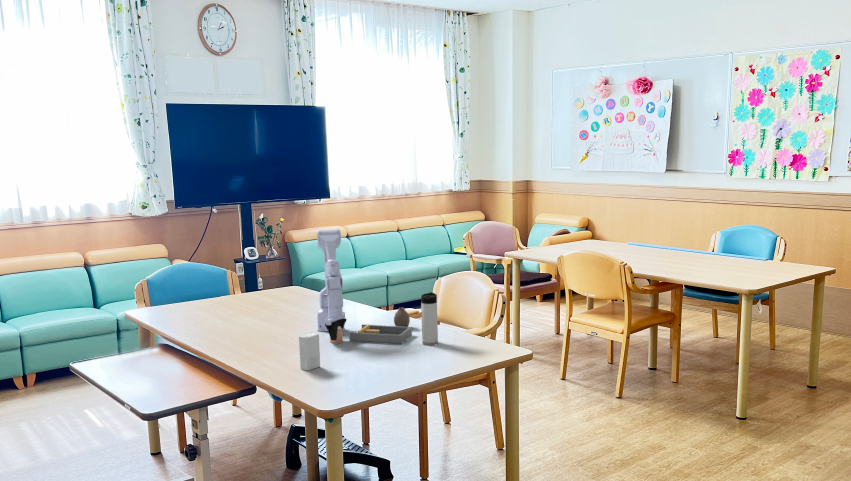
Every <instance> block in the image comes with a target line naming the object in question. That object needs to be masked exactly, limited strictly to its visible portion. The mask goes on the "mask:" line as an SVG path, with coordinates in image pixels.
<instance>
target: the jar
mask: <svg viewBox="0 0 851 481" xmlns="http://www.w3.org/2000/svg"><path fill="white" fill-rule="evenodd" d="M329 338H330V337H329ZM343 338H344V336H343V333H342V328H341V327H340V326H338V330H337V339H336V340H331V338H330V343H331V344H341V343H343Z"/></svg>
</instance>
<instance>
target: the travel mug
mask: <svg viewBox="0 0 851 481" xmlns="http://www.w3.org/2000/svg"><path fill="white" fill-rule="evenodd" d="M437 296H438V295H437V294H436V293H434V292H432V291H431V292H428V293H423V294H422V295H421V297H420V298H421V299H420V300H421V302H420V304H421V305H420V306H421V307H420V308H421V337H422V338H421V341H422V342H421V343H422V345H424V346H436V345H438V343H439V332H438V331H439V330H438V329H439V328H438V297H437ZM435 344H436V345H435Z"/></svg>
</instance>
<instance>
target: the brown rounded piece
mask: <svg viewBox="0 0 851 481" xmlns="http://www.w3.org/2000/svg"><path fill="white" fill-rule="evenodd" d="M410 317H411V316H410V314H409V313H408V311H407V310H406V309H405V307H398V309H397V311H396V312H395V314H394V317H393V324H394V326H401V327H409V325H410V322H411V318H410Z"/></svg>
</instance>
